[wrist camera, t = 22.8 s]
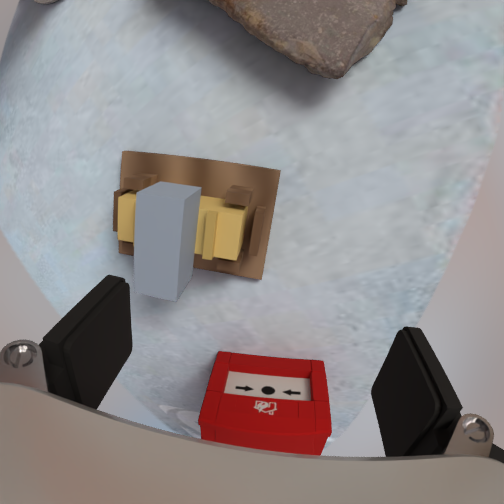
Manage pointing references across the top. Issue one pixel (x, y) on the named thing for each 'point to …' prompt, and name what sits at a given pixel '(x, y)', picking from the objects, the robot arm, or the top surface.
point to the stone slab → (316, 29)
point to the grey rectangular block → (165, 239)
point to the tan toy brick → (198, 225)
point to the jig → (213, 185)
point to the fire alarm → (267, 404)
